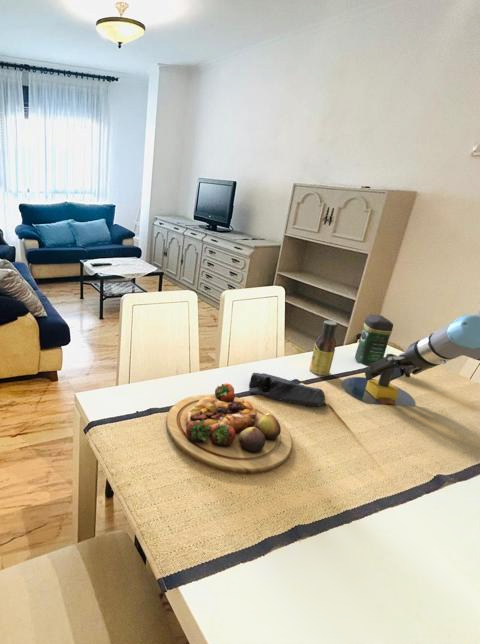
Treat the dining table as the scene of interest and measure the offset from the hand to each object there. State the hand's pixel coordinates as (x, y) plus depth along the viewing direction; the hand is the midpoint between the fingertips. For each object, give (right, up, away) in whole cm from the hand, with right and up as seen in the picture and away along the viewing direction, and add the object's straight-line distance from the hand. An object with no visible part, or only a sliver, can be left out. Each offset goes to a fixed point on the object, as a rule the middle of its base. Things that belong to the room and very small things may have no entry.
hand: (377, 376), depth 122 cm
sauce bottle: (-13, -1, +12) cm, 18 cm away
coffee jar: (+11, +1, +22) cm, 25 cm away
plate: (0, -6, 0) cm, 6 cm away
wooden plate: (-54, -12, -21) cm, 59 cm away
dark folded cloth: (-29, -5, 0) cm, 30 cm away
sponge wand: (0, -5, -2) cm, 6 cm away
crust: (-1, -7, -6) cm, 9 cm away
